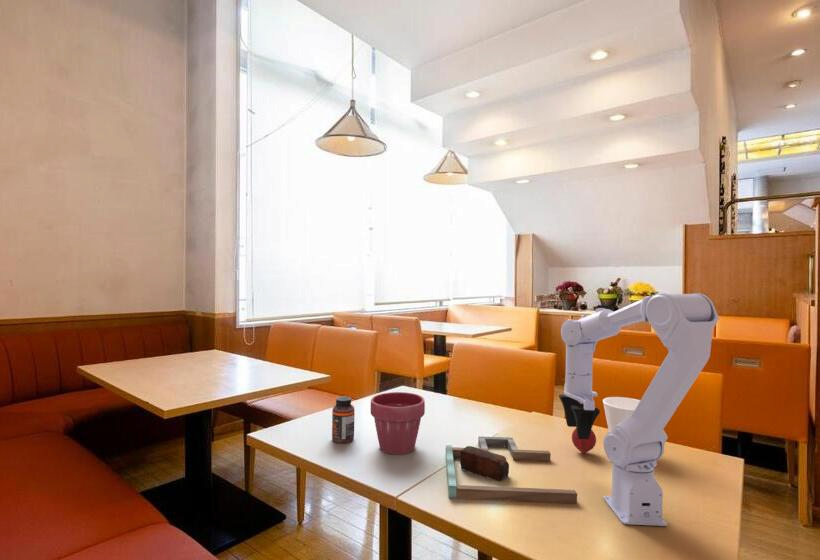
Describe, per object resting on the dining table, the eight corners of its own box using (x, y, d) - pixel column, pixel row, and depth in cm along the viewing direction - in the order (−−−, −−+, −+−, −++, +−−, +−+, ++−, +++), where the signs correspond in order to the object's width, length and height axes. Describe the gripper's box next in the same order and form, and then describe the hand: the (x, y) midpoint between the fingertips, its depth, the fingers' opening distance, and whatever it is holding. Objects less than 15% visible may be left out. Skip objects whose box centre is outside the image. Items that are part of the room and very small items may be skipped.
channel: (576, 503, 87) (577, 491, 87) (448, 498, 88) (448, 485, 88) (540, 446, 116) (540, 436, 116) (444, 442, 117) (444, 433, 117)
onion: (598, 458, 108) (598, 427, 108) (573, 456, 109) (574, 425, 109) (592, 449, 114) (593, 419, 114) (569, 447, 115) (570, 417, 115)
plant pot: (366, 439, 118) (366, 392, 118) (415, 435, 122) (416, 390, 122) (374, 461, 104) (375, 408, 104) (430, 456, 108) (431, 405, 108)
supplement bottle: (327, 438, 118) (328, 397, 118) (346, 433, 122) (347, 393, 122) (338, 445, 114) (339, 402, 114) (358, 440, 117) (358, 398, 117)
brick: (459, 470, 101) (459, 450, 101) (467, 464, 104) (467, 444, 104) (502, 483, 95) (502, 462, 95) (509, 476, 98) (509, 456, 98)
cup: (624, 461, 107) (625, 411, 107) (591, 443, 118) (592, 398, 118) (663, 457, 110) (664, 408, 110) (627, 439, 121) (629, 395, 121)
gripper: (609, 381, 91) (608, 445, 91) (585, 366, 106) (584, 421, 106) (575, 379, 92) (574, 444, 92) (556, 365, 106) (554, 420, 106)
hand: (577, 432), depth 99 cm, fingers open, 7 cm apart
